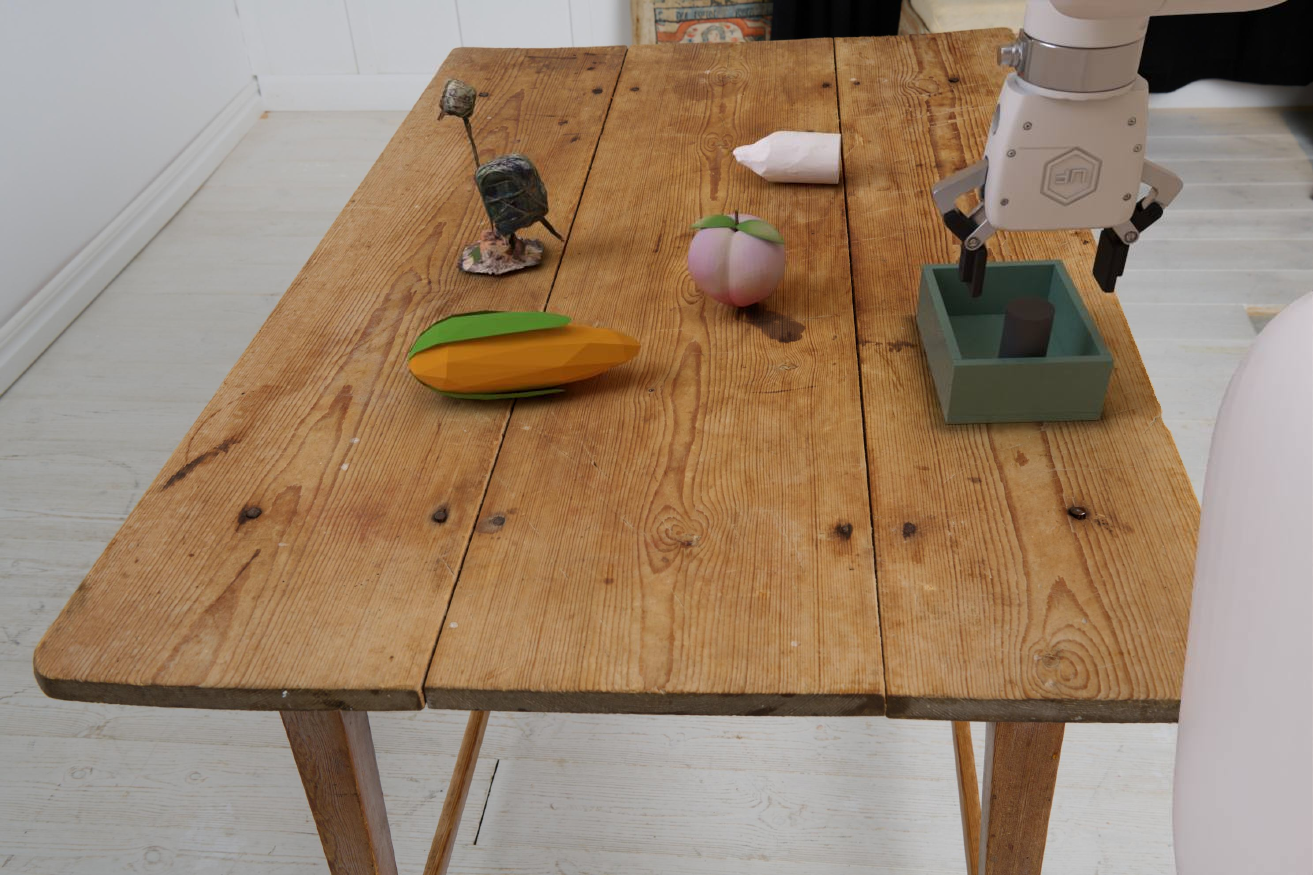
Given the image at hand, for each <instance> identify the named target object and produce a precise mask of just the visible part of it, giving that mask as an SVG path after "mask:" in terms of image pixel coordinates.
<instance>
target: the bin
mask: <svg viewBox="0 0 1313 875" xmlns="http://www.w3.org/2000/svg"><path fill="white" fill-rule="evenodd" d="M958 269H959V262H958V263H957V262H956V263H929V264H921V271H920V278H919V288H918V296H917V297H918V298H917V299H918V300H917V305H916V306H917V307H916V316H915V317H916V318H915V321H916V325H917V328H918V331H919V335H920V338H921V342H922V345H923V348H924V352H925V355H926V359H927V362H928V366H929V370H930V372H931V377H932V379H933V383H934V386H935V390H936V393H937V397H938V400H939V404H940V407H941V410H942V411H941V412H942V415H943V418H944V421H945V424H946V425H964V424H965V425H966V424H967V425H968V424H1000V423H1001V424H1005V423H1038V422H1039V423H1041V422H1043V423H1044V422H1072V421H1074V422H1075V421H1100V420H1101V416H1102V413H1103V409H1104V404H1105V400H1106V396H1107V393H1108V388H1109V385H1110V380H1111V376H1112V372H1113V368H1114V364H1115V358H1114V356H1113V355H1112V353H1111V352H1110V350H1109V348H1108V346H1107V343H1106V342H1105V340H1104V338H1103V336H1102V334H1101V332H1100V330H1099V328H1098V326H1097V325H1096V323H1095V321H1094V319H1093V318H1092V316H1091V314H1090V312H1089V310H1088V308H1087V306H1086V304H1085V302H1084V300H1083V299H1082V297H1081V294H1080V292H1079V291H1078V289H1077V286H1076V285H1075V283H1074V281H1073V279H1072V277H1071V276H1070V274H1069V271H1068V270H1067V268H1066V266H1065V264H1064V262H1063V260H1062V259H1034V260H1007V261H1005V260H1004V261H987V262H986V269H985V276H984V283H983V290H982V295H981V296H979V297H977V298H971V296H970V293H969V290H968V288H967V285H966V283H965V282H960V279H959V275H958ZM1021 296H1034V297H1039V298H1042V299H1045V300H1047V301H1049V302H1050V303H1051V304H1052V305H1053V306H1054V307H1055V316H1054V320H1053V325H1052V330H1051V335H1050V340H1049V345H1048V350H1047V355H1046V357H1031V358H999V359H998V354H999V349H1000V343H1001V337H1002V331H1003V325H1004V319H1005V313H1006V307H1007V304H1008V302H1009V301H1010V300H1012V299H1014V298H1016V297H1021Z"/></svg>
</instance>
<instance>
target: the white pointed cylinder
mask: <svg viewBox="0 0 1313 875" xmlns="http://www.w3.org/2000/svg"><path fill="white" fill-rule="evenodd" d="M841 148H842V134H841V133H832V132H831V133H830V132H816V131H815V132H814V131H812V132H811V131H794V130H793V131H792V130H779V131H778V130H777V131H775V132H772V133H770V134H769V135H767V136H765V137H763V138H761V139H759V140H757V141H756V142H755V143H751V144H747V145H746V144H745V145H741V146H738V147H736V148H734V150H733V151H732V154H733V156H734V157H735V159H736V162H737V163H738V164H740V165H742V166H744V167H746V168H748V169H749V170H751V171H752V172H754V173H755V174H756V175H758V176H760V177H761V178H762V179H764V180H765V181H767V182H772V183H788V184H789V183H792V184H793V183H794V184H795V183H797V184H825V185H826V184H828V185H829V184H830V185H837V184H839V180H840V169H841Z"/></svg>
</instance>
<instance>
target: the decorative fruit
mask: <svg viewBox="0 0 1313 875" xmlns="http://www.w3.org/2000/svg"><path fill="white" fill-rule="evenodd" d="M688 229H689V230H694V229H699V230H698V231H697V232H696V233H695V235H694V236H693V238H692V240H691V242H690V245H689V248H688V253H687V261H686V262H687V270H688V273H689V276H690V278H691V279H692V281H693V282H694V284H695V285H696V286H697V287H698V289H700V290H701V291H702V292H703V293H704V294H705V295H707V296H709V297H710V298H711V299H712V300H714V301H716V302H718V303H721V304H723V305H727V306H732V307H739V308H744V307H747V306H751V305H753V304H756V303H759V302H761V301H764V300H765V299H767V298H768V297H769V296H771V295H772V294H773V293H774V292H775V291H777V289H778V288H779V286H780V285H781V283H782V282H783V279H784V277H785V274H786V266H787V264H786V261H787V260H786V258H787V256H786V247H785V245H786V242H785V240H784V238H783V236H782V234H781V233H780V231H778V230H777V228H776V227H775V226H773V224H771V223H769V221H767V220H766V219H763V218H761V217H758V216H756V215H752V214H747V213H739V211H738V209H734V213H729V214H726V215H725V214H712V215H711V214H710V215H706V216H705V217H702V218H701V219H699V220H697V221H696V222H694V223H692V225H690V227H689V228H688Z"/></svg>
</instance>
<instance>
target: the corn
mask: <svg viewBox="0 0 1313 875" xmlns="http://www.w3.org/2000/svg"><path fill="white" fill-rule="evenodd" d="M641 348H642V345H641V344H640V342H639V340H638V339H636V338H635V337H632V336H631V335H628V334H627V333H625V332H622V331H618V330H615V329H614V330H613V329H610V328H602V327H596V326H590V325H583V324H577V323H572V317H570V316H567V315H563V314H558V313H552V312H545V311H534V310H533V311H532V310H531V311H506V310H505V311H503V310H488V309H484V310H478V311H469V312H461V313H454V314H451V315H449V316H446V317H444V318H442V319H439V320H437V321H435V322H434V323H432V324H431V325H430V326H429V327H427V328H426V329H425V330H423V331H422V332H420V333H419V335H418V337H417V339H416V340H415V342H414V343H413V345H412V346H411V348H410V350H409V351H408V355H407V362H408V363H407V365H408V369H409V373H410V374H411V376H412V377H413V378H414V379H415V380H416V381H417V382H418V383H419V384H420V385H422V386H423V387H424V388H427V389H428V390H431V391H432V392H434V393H436V394H440V395H443V396H447V397H451V398H455V399H468V400H469V399H470V400H486V401H487V400H499V399H515V398H528V397H534V396H540V395H547V394H555V393H561V392H562V393H563V392H566V391H567V390H565V389H558V388H557V389H547V390H538V389H546V388H551V387H555V386H559V385H564V384H569V383H573V382H579V381H583V380H587V379H590V378H592V377H595V376H597V375H599V374H601V373H604V372H606V371H609V370H611V369H613V368H616V367H618V366H620V365H622V364H625V363H627V362H629V361H632V359H634V358H636V357H637V356H638V355H639V353H640V350H641ZM528 390H537V391H528ZM518 391H519V392H518ZM520 391H525V392H520ZM527 391H528V392H527ZM509 392H516V393H509ZM499 393H500V394H499Z"/></svg>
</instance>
